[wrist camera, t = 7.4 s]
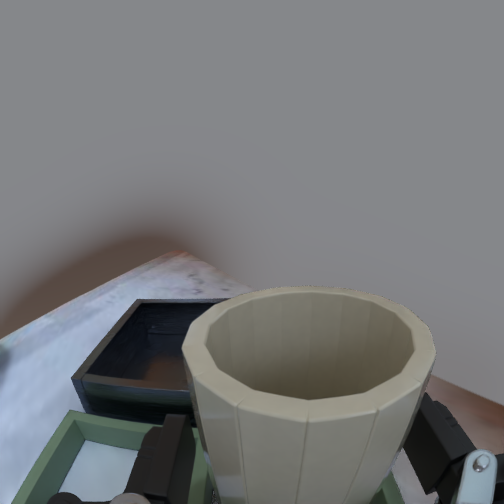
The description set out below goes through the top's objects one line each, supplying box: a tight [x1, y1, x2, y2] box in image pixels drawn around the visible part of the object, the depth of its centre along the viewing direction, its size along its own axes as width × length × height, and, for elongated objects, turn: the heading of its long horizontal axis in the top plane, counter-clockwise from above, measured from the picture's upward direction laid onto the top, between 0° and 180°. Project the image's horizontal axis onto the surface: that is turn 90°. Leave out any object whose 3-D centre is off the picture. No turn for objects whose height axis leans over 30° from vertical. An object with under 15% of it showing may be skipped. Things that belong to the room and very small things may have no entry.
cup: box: [182, 286, 436, 504], centre depth 9 cm, size 7×7×11 cm
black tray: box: [71, 298, 231, 428], centre depth 22 cm, size 14×14×4 cm
